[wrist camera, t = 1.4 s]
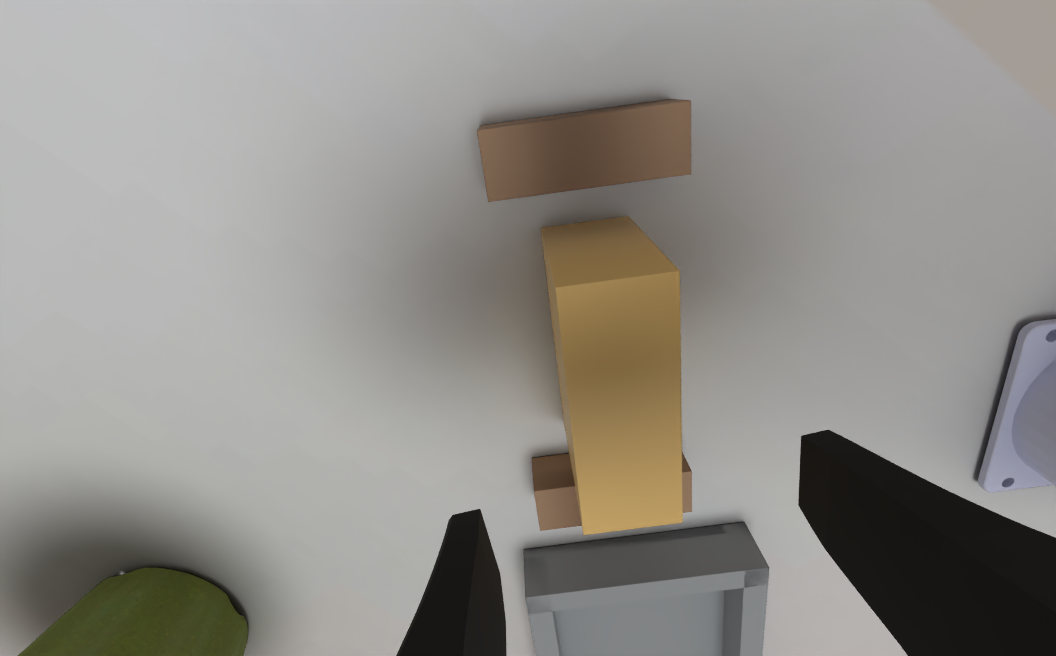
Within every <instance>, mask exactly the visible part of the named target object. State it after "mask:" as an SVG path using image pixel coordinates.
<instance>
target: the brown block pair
mask: <svg viewBox="0 0 1056 656" xmlns="http://www.w3.org/2000/svg"><path fill="white" fill-rule="evenodd" d="M477 133H478V140H479V146H480V152H481V159H482V165H483V171H484V178H485V184H486V190H487V197H488V202H491V201H498V200H506V199H513V198H520V197H528V196H535V195H542V194H549V193H557V192H564V191H571V190H579V189H586V188H593V187H600V186H608V185H615V184H622V183H630V182H637V181H644V180H651V179H659V178H666V177H673V176H681V175H688V174H691V101H689V100H677V99H667V100H660V101H653V102H645V103H638V104H631V105H624V106H617V107H610V108H603V109H595V110H588V111H581V112H574V113H567V114H560V115H553V116H545V117H538V118H531V119H524V120H517V121H510V122H502V123H495V124H488V125H481V126H480V127H479V128H478V130H477ZM532 469H533V483H534V494H535V501H536V507H537V513H538V520H539V526H540V531H542V530H550V529H558V528H566V527H574V526H582V523H581V517H580V512H579V506H578V500H577V494H576V489H575V483H574V477H573V471H572V466H571V460H570V454H569V453H568V454H560V455H552V456H544V457H537V458H532ZM682 512H683V513H685V512H692V471H691V469H690V467H689V465H688V463H687V461H686V459H685V457H684V455H683V452H682Z"/></svg>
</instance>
